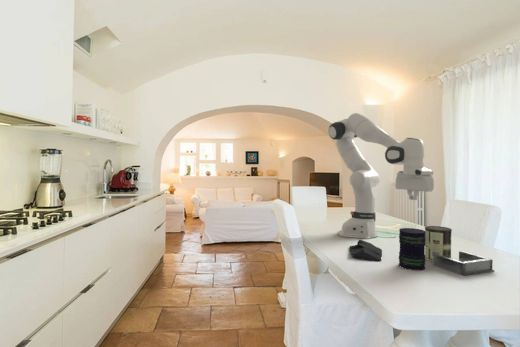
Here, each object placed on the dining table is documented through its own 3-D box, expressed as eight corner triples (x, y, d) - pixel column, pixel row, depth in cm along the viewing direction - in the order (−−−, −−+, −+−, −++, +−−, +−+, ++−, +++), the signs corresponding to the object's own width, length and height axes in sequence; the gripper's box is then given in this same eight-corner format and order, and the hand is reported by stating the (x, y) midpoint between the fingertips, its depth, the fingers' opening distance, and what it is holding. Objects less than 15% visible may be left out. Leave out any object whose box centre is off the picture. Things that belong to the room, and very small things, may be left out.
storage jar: (424, 272, 120) (424, 234, 119) (396, 267, 125) (397, 231, 125) (426, 265, 128) (426, 229, 128) (400, 261, 133) (400, 227, 133)
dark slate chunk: (345, 259, 138) (345, 248, 138) (350, 247, 158) (350, 238, 158) (382, 263, 132) (382, 252, 132) (382, 250, 153) (382, 240, 152)
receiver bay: (433, 264, 129) (433, 254, 129) (461, 261, 134) (461, 250, 134) (464, 275, 116) (465, 264, 116) (494, 271, 121) (494, 260, 121)
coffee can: (445, 257, 140) (446, 226, 140) (455, 264, 130) (455, 230, 130) (421, 255, 142) (421, 225, 142) (428, 262, 132) (429, 229, 132)
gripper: (392, 170, 158) (392, 197, 158) (425, 171, 138) (425, 202, 139) (402, 170, 160) (401, 197, 160) (436, 171, 140) (435, 201, 141)
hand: (412, 199), depth 149 cm, fingers closed
